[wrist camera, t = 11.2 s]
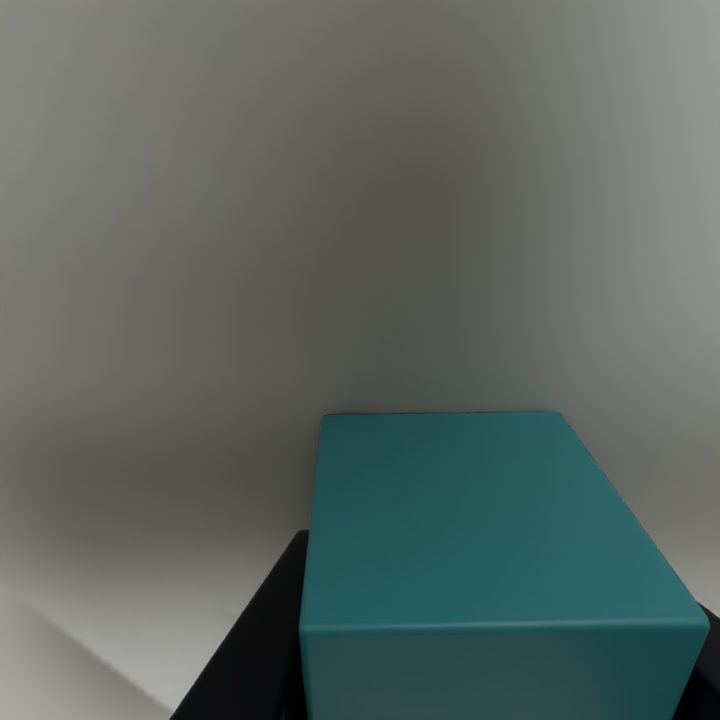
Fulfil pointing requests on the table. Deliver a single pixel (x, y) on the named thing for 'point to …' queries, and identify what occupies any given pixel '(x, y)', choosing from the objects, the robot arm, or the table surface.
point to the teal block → (483, 578)
